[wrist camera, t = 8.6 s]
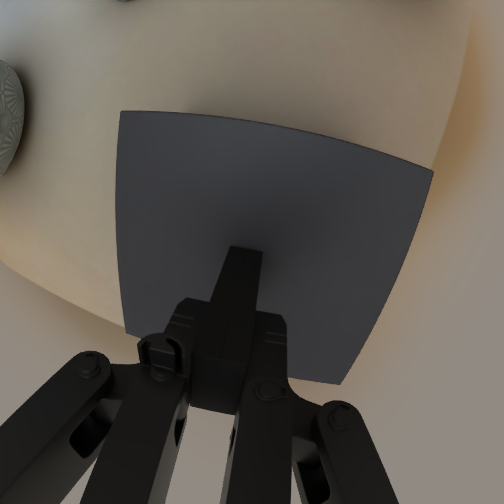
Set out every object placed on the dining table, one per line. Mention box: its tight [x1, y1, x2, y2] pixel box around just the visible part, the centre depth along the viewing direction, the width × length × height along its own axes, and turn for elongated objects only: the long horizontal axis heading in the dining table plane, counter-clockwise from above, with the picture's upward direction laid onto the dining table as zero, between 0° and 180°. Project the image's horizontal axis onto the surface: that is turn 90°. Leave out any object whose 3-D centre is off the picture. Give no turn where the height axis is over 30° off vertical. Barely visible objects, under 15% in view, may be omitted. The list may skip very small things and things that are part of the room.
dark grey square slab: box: [115, 111, 434, 385], centre depth 14 cm, size 14×14×1 cm
